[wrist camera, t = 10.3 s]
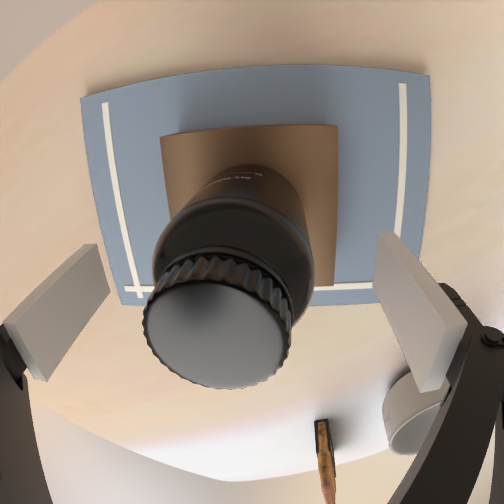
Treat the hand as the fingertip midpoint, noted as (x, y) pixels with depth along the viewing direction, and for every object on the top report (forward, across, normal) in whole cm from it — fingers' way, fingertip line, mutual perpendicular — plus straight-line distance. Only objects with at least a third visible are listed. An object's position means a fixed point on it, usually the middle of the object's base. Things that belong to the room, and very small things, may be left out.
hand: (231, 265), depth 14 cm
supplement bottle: (+7, 0, 0) cm, 7 cm away
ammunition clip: (+12, +9, -35) cm, 38 cm away
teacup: (+12, +21, -25) cm, 35 cm away
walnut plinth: (+11, +1, 0) cm, 11 cm away
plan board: (+12, +1, 0) cm, 12 cm away
